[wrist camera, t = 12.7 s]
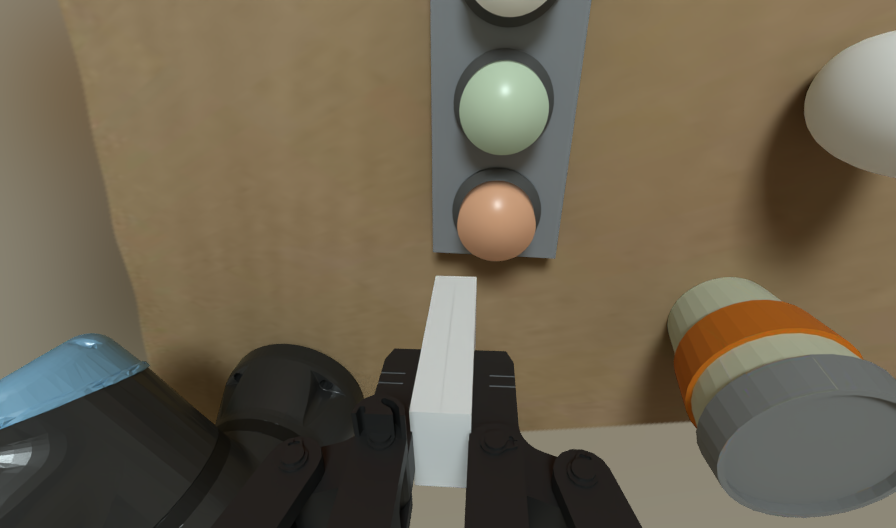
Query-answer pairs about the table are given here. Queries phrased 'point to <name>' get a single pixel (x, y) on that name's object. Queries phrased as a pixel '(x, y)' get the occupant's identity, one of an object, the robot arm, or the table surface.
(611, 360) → the table surface
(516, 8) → the cream button
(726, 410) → the reusable coffee cup
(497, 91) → the sage button
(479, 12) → the button panel
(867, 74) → the sauce bottle
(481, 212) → the terracotta button
